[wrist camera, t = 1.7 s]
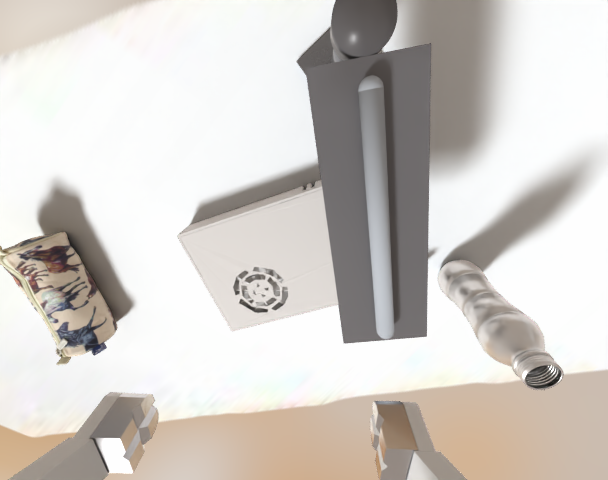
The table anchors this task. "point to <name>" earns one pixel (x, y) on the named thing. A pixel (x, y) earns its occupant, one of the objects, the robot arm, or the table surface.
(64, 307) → the pencil case
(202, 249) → the power supply unit
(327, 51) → the post
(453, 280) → the plastic bottle
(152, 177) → the table surface
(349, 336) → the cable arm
